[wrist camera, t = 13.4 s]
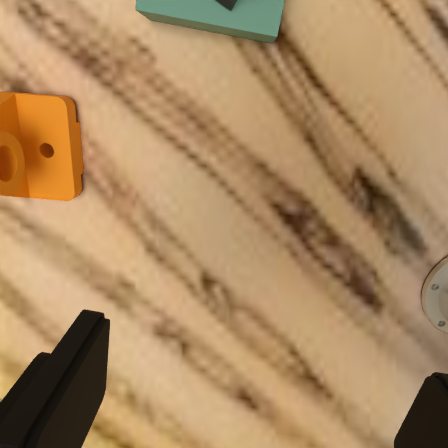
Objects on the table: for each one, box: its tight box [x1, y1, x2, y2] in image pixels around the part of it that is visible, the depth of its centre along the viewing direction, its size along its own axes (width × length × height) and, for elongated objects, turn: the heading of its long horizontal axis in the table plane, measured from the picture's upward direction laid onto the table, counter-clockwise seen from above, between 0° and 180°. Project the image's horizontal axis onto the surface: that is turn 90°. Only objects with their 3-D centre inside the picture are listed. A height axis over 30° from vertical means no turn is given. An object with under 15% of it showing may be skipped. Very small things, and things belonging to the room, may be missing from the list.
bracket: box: [0, 92, 84, 201], centre depth 33 cm, size 11×7×12 cm, turn 176°
